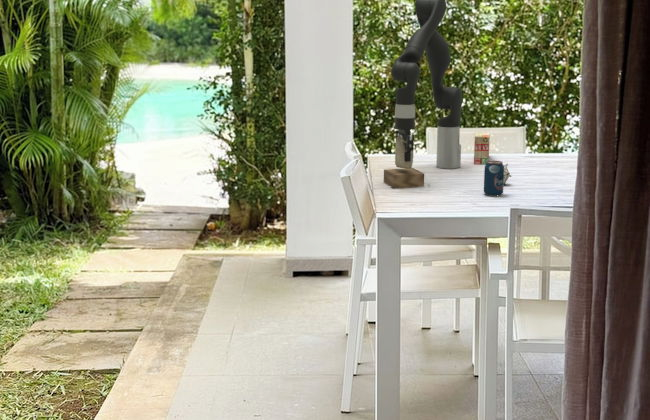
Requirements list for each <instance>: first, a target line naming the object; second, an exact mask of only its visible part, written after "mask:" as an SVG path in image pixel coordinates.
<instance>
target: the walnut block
mask: <svg viewBox="0 0 650 420" xmlns="http://www.w3.org/2000/svg"><path fill="white" fill-rule="evenodd" d="M383 183H384V184H385V185H387V186H389V187H391V188H392V189H406V188H407V189H409V188H423V187H425V173H424V172H422V171H420V170H417V169H416V168H415V167H412V168H387V169H383Z"/></svg>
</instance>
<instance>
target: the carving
mask: <svg viewBox="0 0 650 420" xmlns="http://www.w3.org/2000/svg"><path fill="white" fill-rule="evenodd" d="M402 142H403V141H402V139H401V137H397V139H396V138H395V145H394V146H395V147H394V149H395V150H394V151H395V152H394V159H395V160H394V165H395V167H397V168H398V169H403V168H413V167H412V166H413V164H414V150H413V151H411V161H409V162H406V161H404V157H405V151H404V146H403V145H402V144H403V143H402ZM404 142H405V143H407V141H404Z"/></svg>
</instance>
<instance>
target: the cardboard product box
mask: <svg viewBox="0 0 650 420" xmlns="http://www.w3.org/2000/svg"><path fill="white" fill-rule="evenodd" d="M490 136H491V135H490V132H487V131H482V132H481V131H474V143H473V144H474V147H473V148H474V149H473V152H474V153H473V165H477V166H478V165H484V166H485V165H486V162H487V161H490V160H489V157H490Z"/></svg>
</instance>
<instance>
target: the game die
mask: <svg viewBox="0 0 650 420" xmlns="http://www.w3.org/2000/svg"><path fill="white" fill-rule="evenodd" d="M503 166H504V181H503V186H506V185H507V184H506V182H507V181H508V180H509V177H512V175H510V172H509V169H508V163H506V164H503Z"/></svg>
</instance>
